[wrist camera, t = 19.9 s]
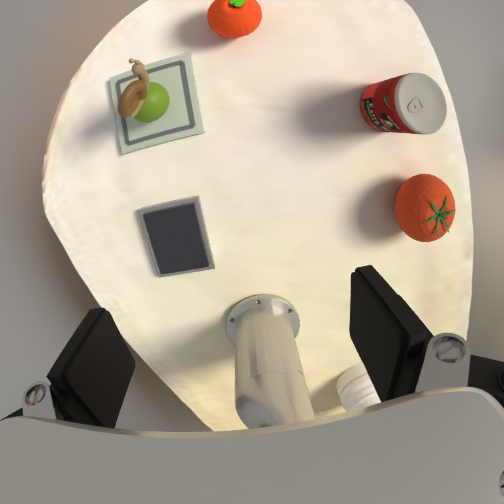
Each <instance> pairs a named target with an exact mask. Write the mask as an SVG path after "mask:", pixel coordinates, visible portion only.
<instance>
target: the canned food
mask: <svg viewBox="0 0 504 504" xmlns="http://www.w3.org/2000/svg"><path fill="white" fill-rule="evenodd" d="M360 106H361V112H362V115H363V117H364V119H365V120H366V121H367V123H368V124H369V125H371V126H372V127H373V128H375V129H377V130H379V131H382V132H396V133H411V134H432V133H434V132H436V131H438V130H439V129H440V128H441V127H442V125H443V124H444V121H445V119H446V114H447V105H446V100H445V97H444V94H443V92H442V90H441V88H440V87H439V85H438V84H437V83H436V82H435V81H434V80H433V79H432V78H430V77H429V76H427V75H425V74H422V73H409V74H405V75H401V76H398V77H394V78H391V79H388V80H385V81H382V82H378V83H375V84H373V85H371V86H369V87H368V88H367V89H366V90H365V92H364V93H363V95H362V98H361V103H360Z"/></svg>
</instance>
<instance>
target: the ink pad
mask: <svg viewBox="0 0 504 504" xmlns="http://www.w3.org/2000/svg"><path fill="white" fill-rule="evenodd" d="M139 214H140V218H141V221H142V225H143V228H144V232H145V235H146V238H147V242H148V245H149V248H150V251H151V255H152V258H153V261H154V264H155V267H156V270H157V273H158V276H159V278H160V277H166V276H172V275H178V274H184V273H191V272H197V271H203V270H209V269H215V263H214V259H213V255H212V251H211V247H210V242H209V238H208V234H207V230H206V225H205V221H204V216H203V212H202V208H201V203H200V198H199V196H194V197H189V198H184V199H180V200H175V201H170V202H166V203H162V204H157V205H153V206H149V207H145V208H141V209H139Z"/></svg>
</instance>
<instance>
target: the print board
mask: <svg viewBox="0 0 504 504" xmlns="http://www.w3.org/2000/svg"><path fill="white" fill-rule="evenodd" d="M144 68H145V70H146V71H147V73H148V75H149V80H150V82H155V83H158V84H160V85H162V86H163V87H164V88H165V89H166V90H167V92H168V95H169V106H168V108H167V110H166V112H165V113H164V115H163V116H162V117H160V118H159V119H157V120H155V121H152V122H140V121H138V120H136V119H134V118H132V119H130V118H129V117H127V118H123V117H121V116H120V115H119V113H118V102H119V99H120V96H121V94H122V92H123V91H124V89H125V88H126V87H127V86H128V85H129V84H130V83H131V82H133V81H135V80H139V79H138V77H137V75H135V74H133V73H132V70H130V71H127V72H125V73H122V74H119V75H117V76H114V77H112V78H110V86H111V93H112V100H113V107H114V113H115V119H116V124H117V130H118V135H119V141H120V146H121V150H122V154H126V153H129V152H132V151H135V150H139V149H142V148H145V147H149V146H152V145H156V144H160V143H163V142H167V141H171V140H175V139H179V138H183V137H187V136H192V135H196V134H200V133H205V132H204V126H203V121H202V116H201V110H200V105H199V99H198V94H197V88H196V82H195V76H194V71H193V65H192V59H191V54H190V53H186V54H182V55H178V56H174V57H171V58H167V59H164V60H160V61H157V62H154V63H151V64H147V65H144Z"/></svg>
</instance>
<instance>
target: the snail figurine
mask: <svg viewBox="0 0 504 504" xmlns="http://www.w3.org/2000/svg"><path fill="white" fill-rule="evenodd" d="M133 62H134V59H130V60H129V63H133ZM134 63H135V64H134V65H133V66H132V73H133V74H135V75H137V77H138V79H139V80H135V81H133V82H131V83H130V84H129V85H128V86H127V87H126V88H125V89H124V91H123V92H122V94H121V96H120V99H119V102H118V113H119V115H120V116H121V117H123V118H127V117H129V118H130V119H132V118H134V119H136V120H138V121H140V122H152V121H155V120H157V119H159V118H160V117H162V116H163V115H164V113H165V112H166V110H167V108H168V106H169V95H168V92H167V90H166V89H165V88H164V87H163V86H162V85H160V84H158V83H155V82H150V80H149V75H148V73H147V71H146V70H145V68H144V65H143V64H142V63H141V62H140V61H139V60H135V62H134Z"/></svg>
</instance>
